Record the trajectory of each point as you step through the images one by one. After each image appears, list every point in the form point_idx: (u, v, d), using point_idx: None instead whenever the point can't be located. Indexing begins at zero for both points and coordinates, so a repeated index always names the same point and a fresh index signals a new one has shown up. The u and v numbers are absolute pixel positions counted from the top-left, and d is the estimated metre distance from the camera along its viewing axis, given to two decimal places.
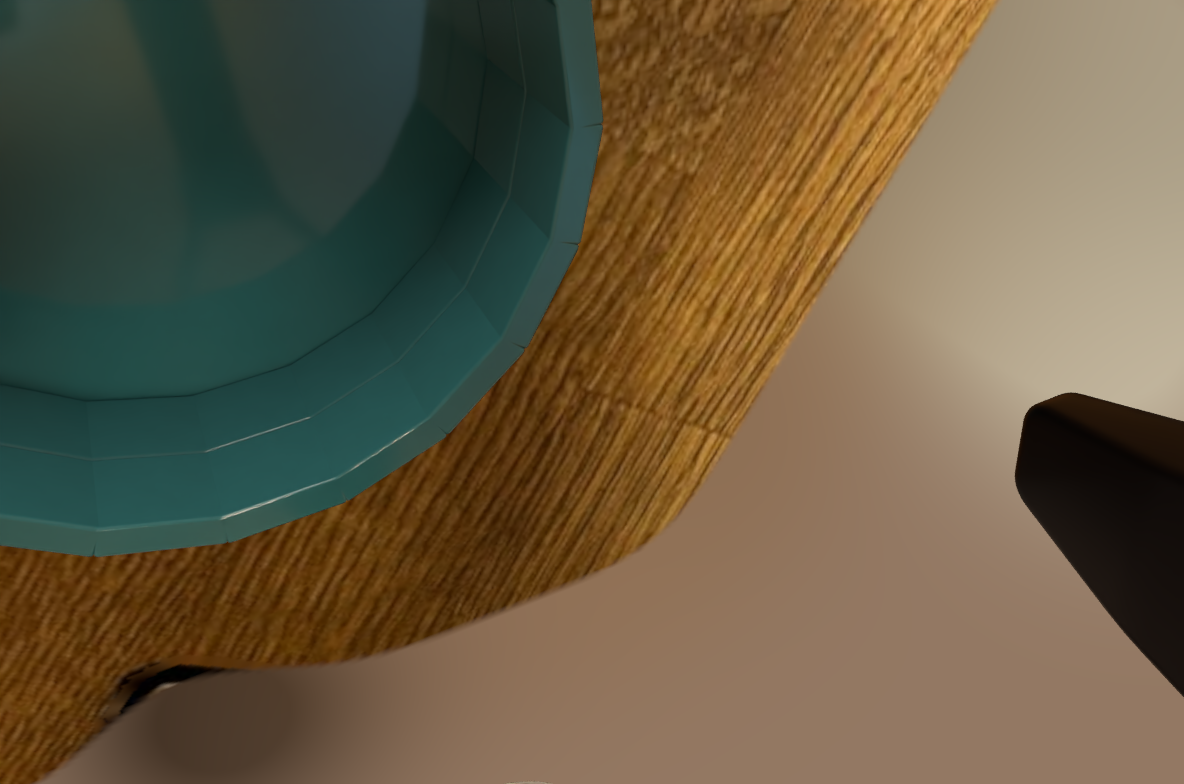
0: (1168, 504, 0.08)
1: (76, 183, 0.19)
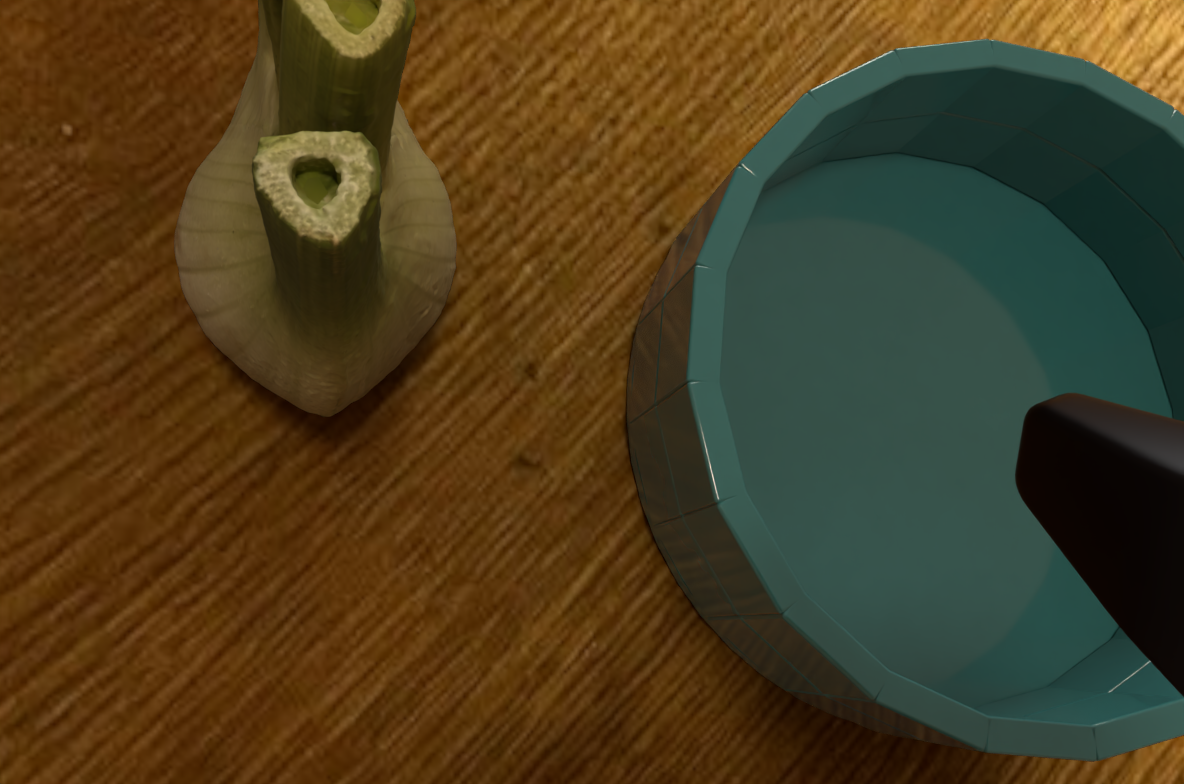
0: (1168, 504, 0.08)
1: (864, 470, 0.23)
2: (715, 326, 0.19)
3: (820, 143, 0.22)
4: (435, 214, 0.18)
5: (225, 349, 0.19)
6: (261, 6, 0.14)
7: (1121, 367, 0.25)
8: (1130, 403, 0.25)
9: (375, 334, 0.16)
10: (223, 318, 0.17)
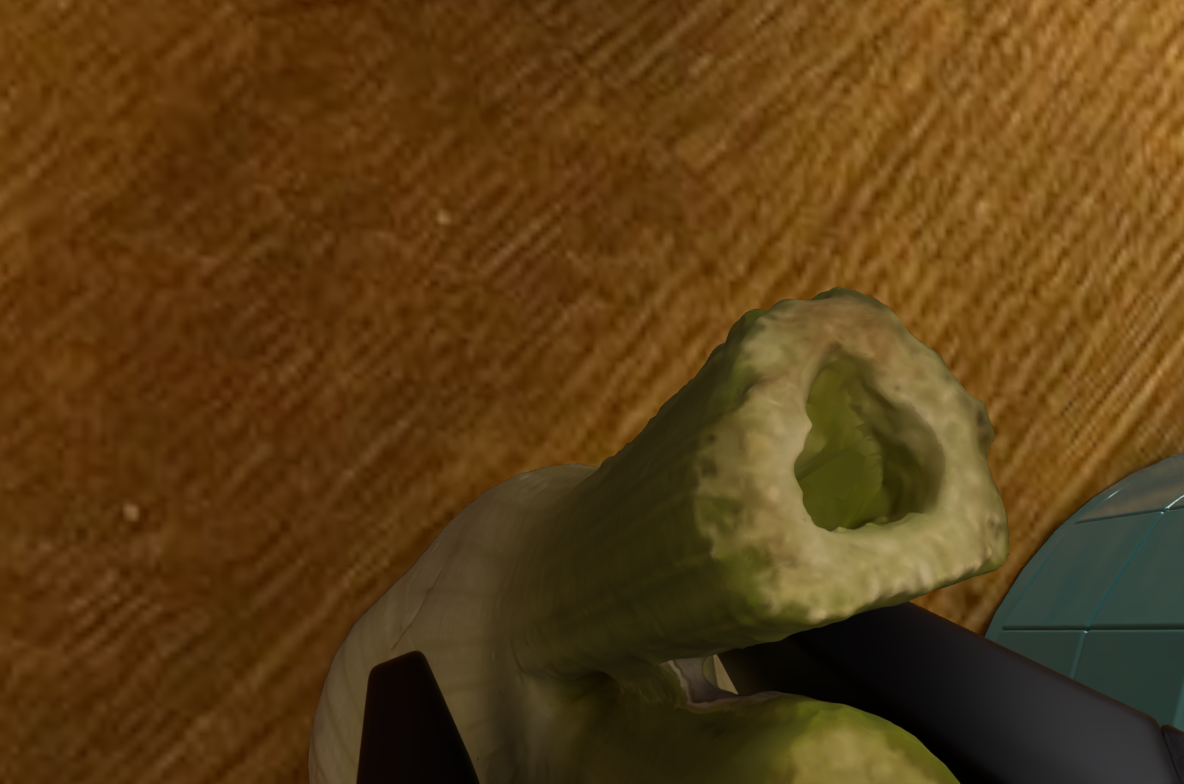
0: (798, 668, 0.08)
1: None
2: None
3: None
4: None
5: None
6: (542, 649, 0.07)
7: None
8: None
9: None
10: None
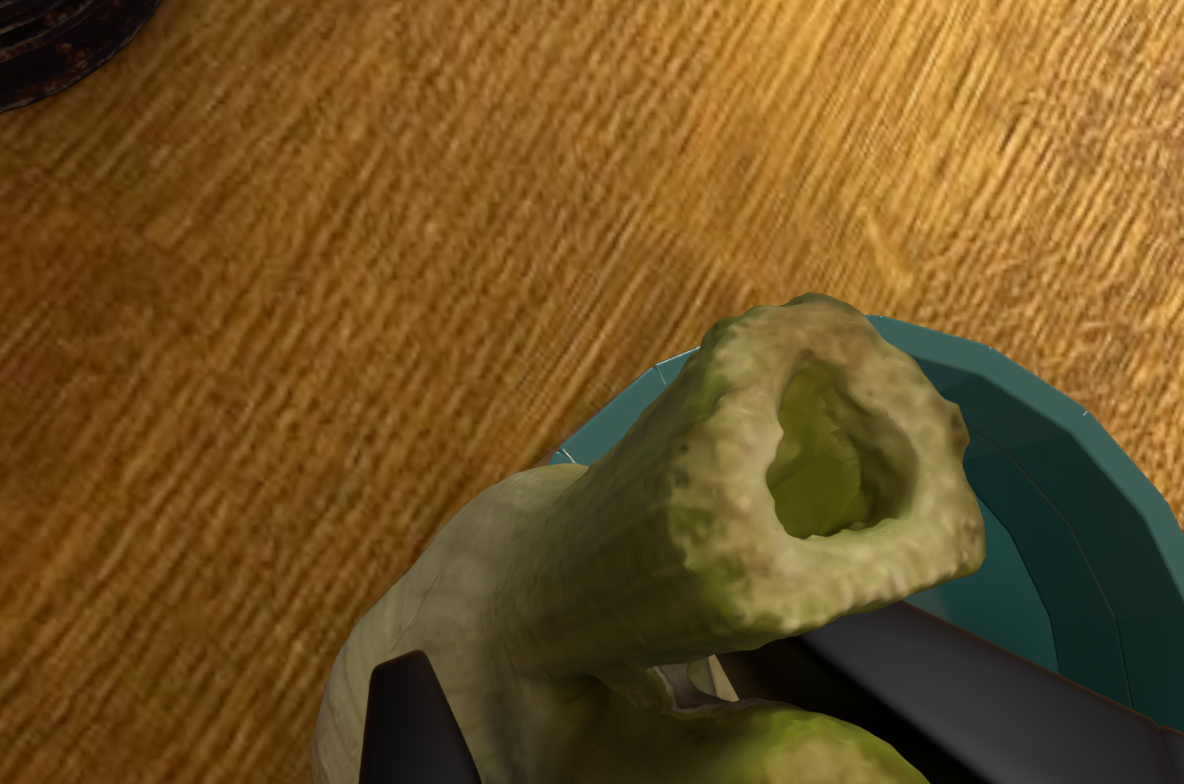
0: (797, 670, 0.08)
1: None
2: None
3: None
4: None
5: None
6: (534, 652, 0.07)
7: (988, 584, 0.22)
8: (1003, 623, 0.22)
9: None
10: None
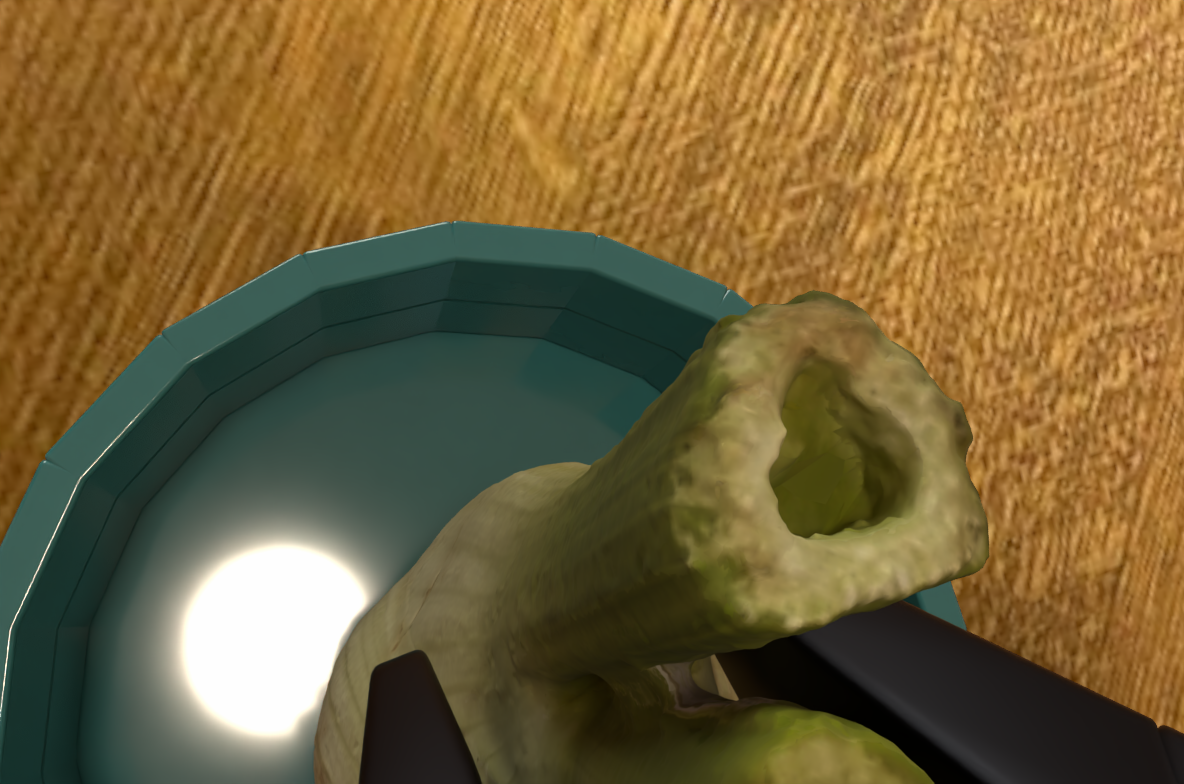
0: (796, 669, 0.08)
1: None
2: None
3: (161, 448, 0.16)
4: None
5: None
6: (536, 651, 0.07)
7: None
8: None
9: None
10: None
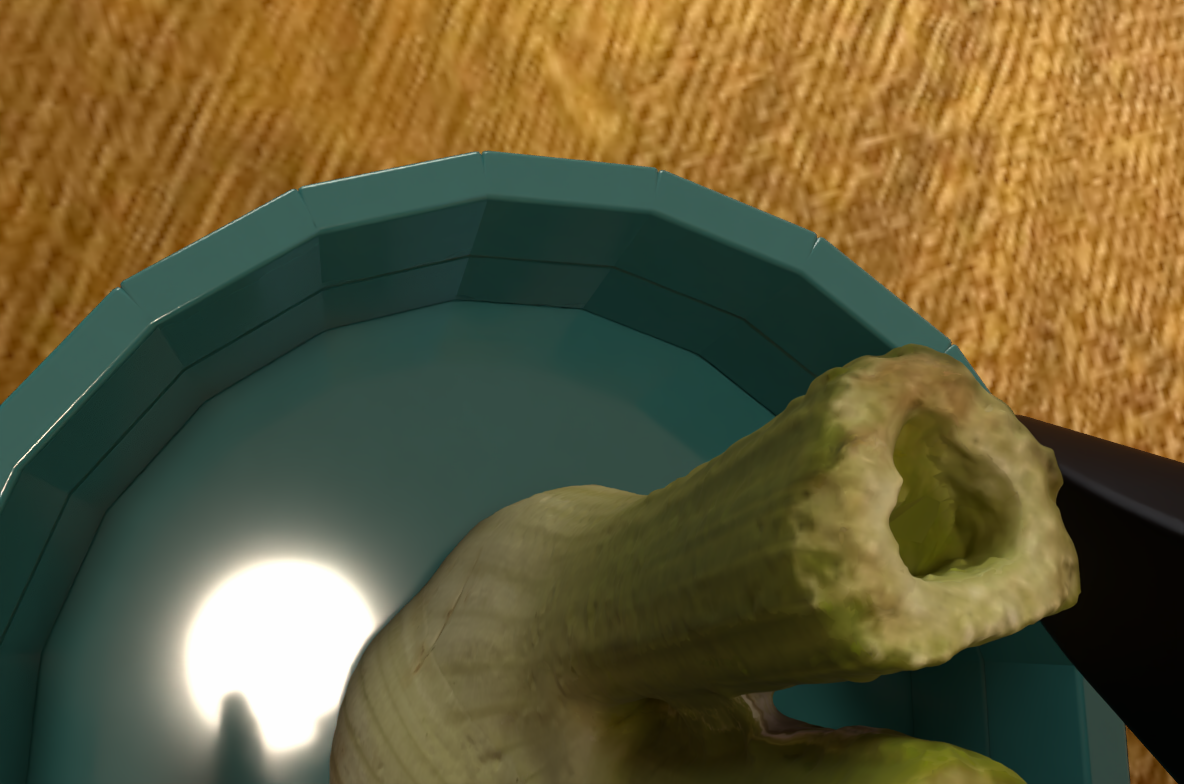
0: (1106, 532, 0.08)
1: None
2: None
3: (126, 433, 0.13)
4: None
5: None
6: (592, 676, 0.07)
7: None
8: None
9: None
10: None
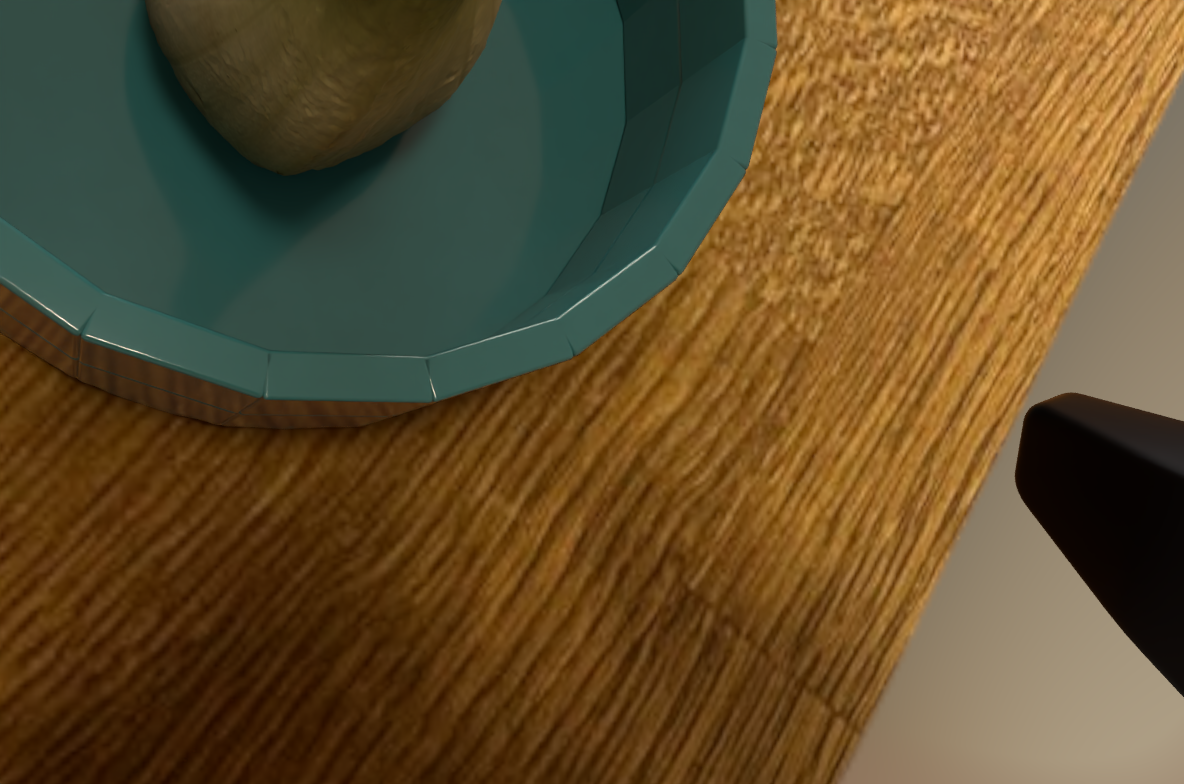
0: (1168, 504, 0.08)
1: None
2: None
3: None
4: None
5: (183, 45, 0.14)
6: None
7: None
8: (569, 12, 0.20)
9: (428, 53, 0.12)
10: None
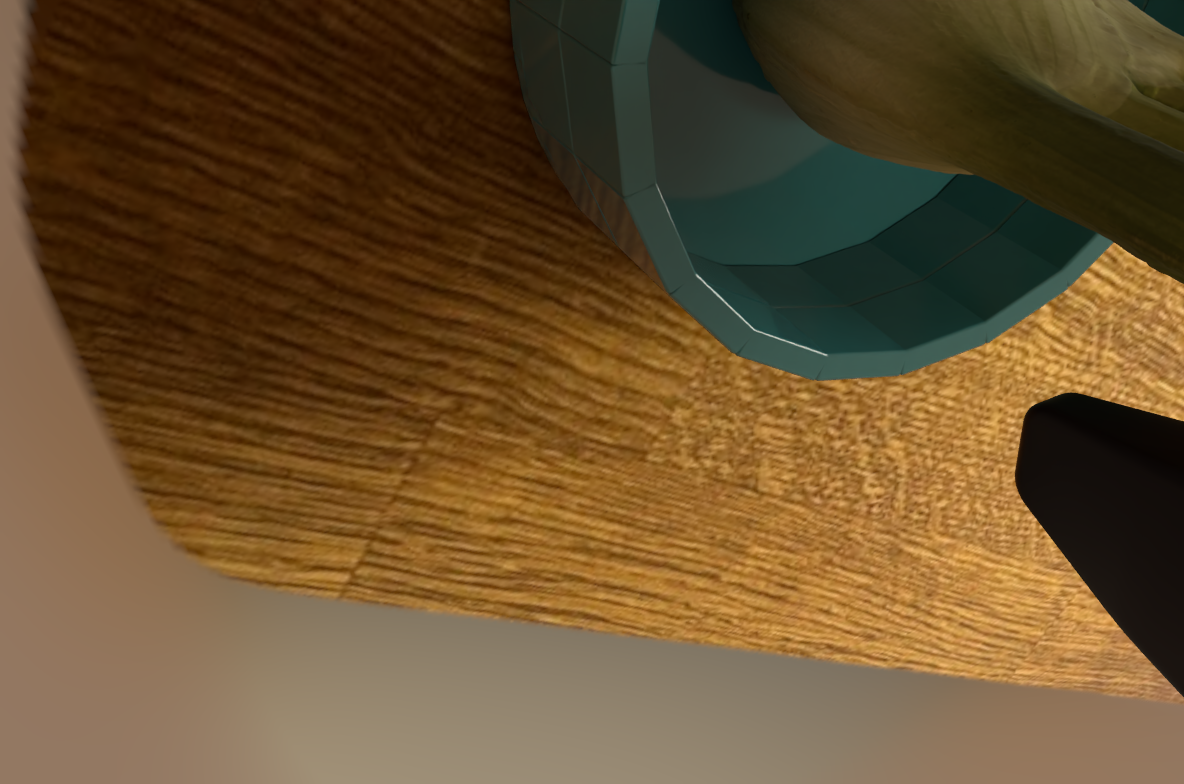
0: (1168, 504, 0.08)
1: None
2: None
3: None
4: None
5: None
6: None
7: (901, 180, 0.24)
8: (870, 197, 0.24)
9: (909, 145, 0.16)
10: None
